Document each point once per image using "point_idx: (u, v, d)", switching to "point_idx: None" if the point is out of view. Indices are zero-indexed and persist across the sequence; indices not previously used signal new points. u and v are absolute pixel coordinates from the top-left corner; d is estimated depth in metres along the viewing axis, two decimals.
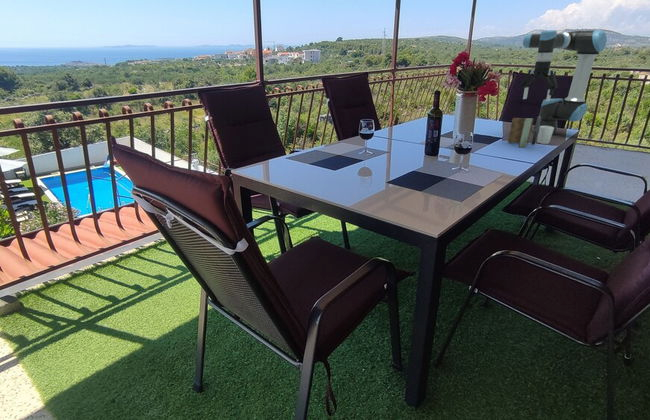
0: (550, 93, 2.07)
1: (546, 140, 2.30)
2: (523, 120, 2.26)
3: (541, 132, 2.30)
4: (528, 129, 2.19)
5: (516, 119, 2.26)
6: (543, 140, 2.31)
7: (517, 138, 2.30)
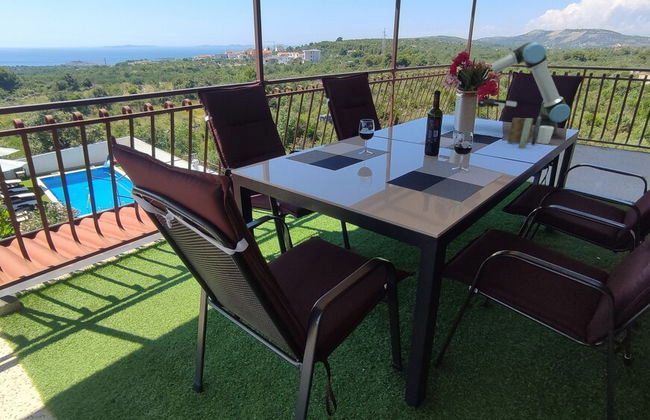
0: (496, 106, 2.28)
1: (546, 140, 2.30)
2: (523, 120, 2.26)
3: (541, 132, 2.30)
4: (528, 129, 2.19)
5: (516, 119, 2.26)
6: (543, 140, 2.31)
7: (517, 138, 2.30)
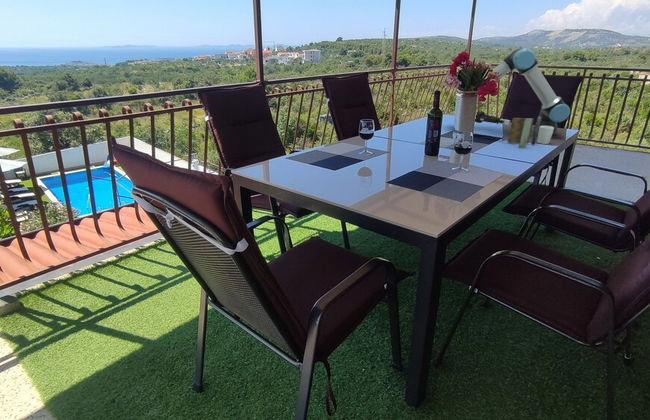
0: (501, 122, 2.34)
1: (546, 140, 2.30)
2: (523, 120, 2.26)
3: (541, 132, 2.30)
4: (528, 129, 2.19)
5: (516, 119, 2.26)
6: (543, 140, 2.31)
7: (517, 138, 2.30)
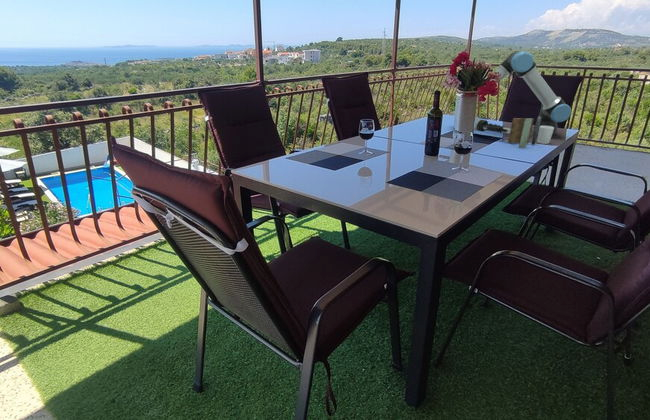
0: (504, 131, 2.33)
1: (546, 140, 2.30)
2: (523, 120, 2.25)
3: (541, 132, 2.30)
4: (528, 129, 2.19)
5: (516, 119, 2.25)
6: (543, 140, 2.31)
7: (517, 138, 2.30)
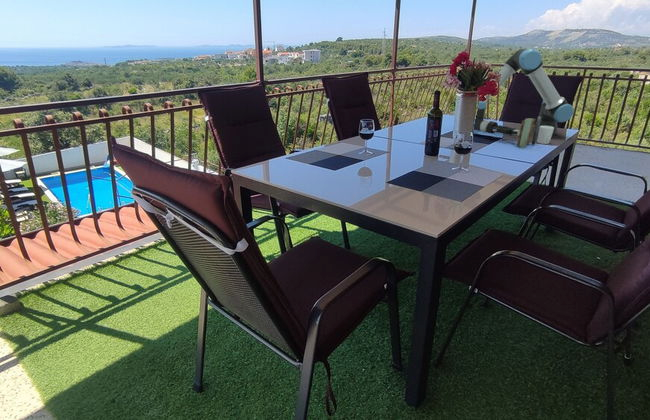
0: (515, 134, 2.28)
1: (546, 140, 2.30)
2: None
3: (541, 132, 2.30)
4: (528, 129, 2.19)
5: None
6: (543, 140, 2.31)
7: None
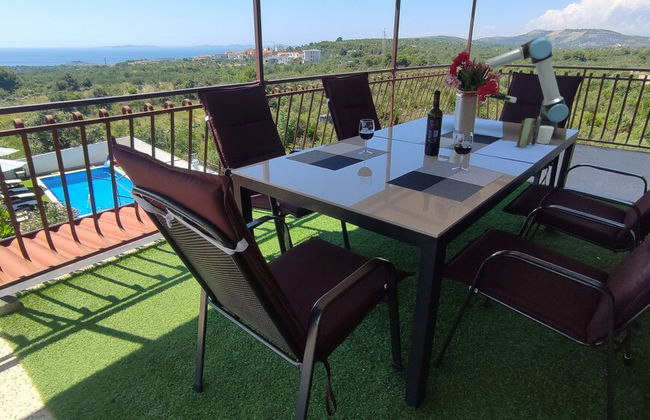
0: (507, 100, 2.32)
1: (546, 140, 2.30)
2: None
3: (541, 132, 2.30)
4: (528, 129, 2.19)
5: None
6: (543, 140, 2.31)
7: None
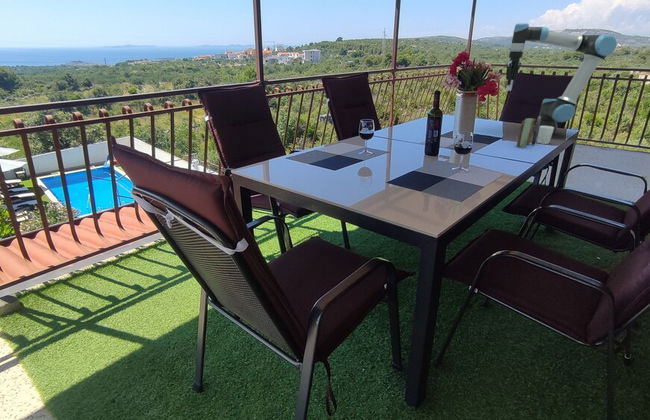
0: None
1: (546, 140, 2.30)
2: None
3: (541, 132, 2.30)
4: (528, 129, 2.19)
5: None
6: (543, 140, 2.31)
7: None
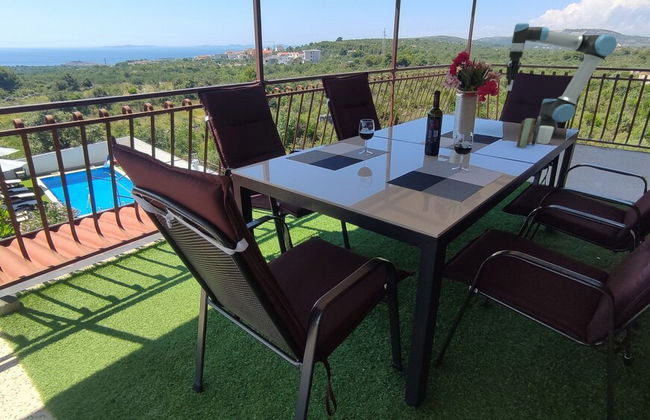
0: None
1: (546, 140, 2.30)
2: None
3: (541, 132, 2.30)
4: (528, 129, 2.19)
5: None
6: (543, 140, 2.31)
7: None
